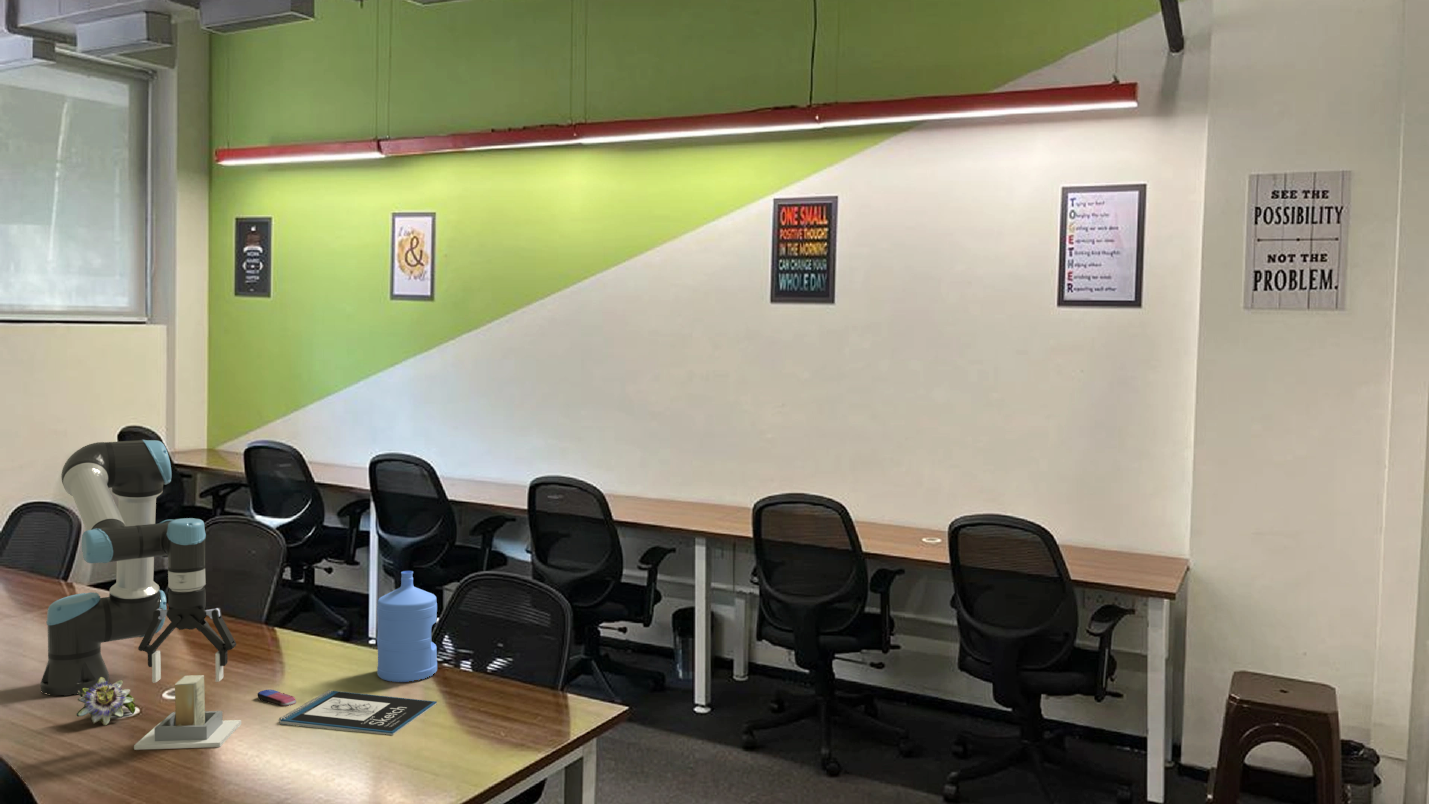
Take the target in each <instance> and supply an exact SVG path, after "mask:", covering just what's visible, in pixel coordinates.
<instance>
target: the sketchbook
mask: <svg viewBox="0 0 1429 804" xmlns="http://www.w3.org/2000/svg"><path fill="white" fill-rule="evenodd" d="M437 703H438V702H437V701H436V700H435V701H434V700H426V699H425V700H424V699H416V698H415V699H414V698H406V697H397V696H387V695H377V694H367V693H359V692H357V693H356V692H351V691H349V692H348V691H339V690H331V689H329V690H327V691H325V692H323V693H321V694H319V695H317V696H316V697H314V698H312V699H311V700H309V701H307V702H305V703H304V704H301V705H299V707H296V708H295V709H293V710H291V711H289V712H288V713H285V714H284V715H282V716H280V717H279V719H278V723H279V724H280V725H284V726H293V725H295V727H297V726H296V725H299V726H298V727H304V726H305V728H307V727H308V728H316V729H324V728H327V729H326V730H335V729H336V730H337V731H345V732H356V733H364V734H365V733H367V734H378V735H385V734H386V736H394V735H395V734H397V733H399V732H400V731H401V730H403V729H404V728H405V727H407V726H409V725H410V724H411V723H412V722H413V720H414V719H415V720H416V719H418V718H419V717H421V716H422V715H423V714H425V713H426V712H427V711H429V710H431V709H432V708H433V707H435V706H436V705H437ZM434 705H435V706H434ZM421 714H422V715H421ZM418 716H419V717H418ZM417 717H418V718H417ZM415 720H414V721H415ZM410 722H411V723H410ZM406 725H407V726H406Z"/></svg>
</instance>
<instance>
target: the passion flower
mask: <svg viewBox="0 0 1429 804" xmlns="http://www.w3.org/2000/svg"><path fill="white" fill-rule="evenodd" d="M107 682H108V681H105V679H104V678H102V677H100V678H99V680H98V682H97V683H96V684H95V685H93V687H90V688H89V689H88V688H83V689H82V693H81V692H80V691H78V694H77V695H78V696H80V697H79V698H77V701H78V702H81V703H82V704H84V706H82V708H80V710H78V711H77V713H76V716H77V717H83V716H85V715H87V714H89V715H90V719H91V722H92V723H93V725H94V724H96V723H98V722H101V724H102V725H103V726H107V725H108V724H109V723H110V721H111V717H112V716H113V715H114V716H116V717H119V718H122V717H123V716H124V711H123V707H125V708H127V709H128V711H130V713H131V714H132V715H134V714H135V712H136V704H135V698H134V697H133V696H132V695H131V694H130V693H131V689H129V688H125V689H123V687H122V685H123V680H122V679H120V680H117V681H115V682H114V683H111V682H109V683H108V684H107ZM86 691H87V692H86Z"/></svg>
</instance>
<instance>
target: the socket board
mask: <svg viewBox="0 0 1429 804" xmlns="http://www.w3.org/2000/svg"><path fill="white" fill-rule="evenodd" d="M241 725H242V719H236V720H235V719H231V720H230V719H229V720H228V719H226V720H223V710H210V711H209V710H208V711H207V710H205V724H204V725H187V726H176V715H175V711H173V712H171V713H170V714H169V715H168V716H167V717H165V718H164V719H163V720H162V721H160V722H159V723H158V724H157V725H155V726H154V727H153V728H152V729H151V730H150V731H149V732H148V733H146V734H145V735H144V736H143V737H142V738H140V739H139V740H138V741H137V742H136V743H135V744H134V745H133V749H134V751H135V750H136V751H139V750H165V749H170V750H171V749H198V748H199V749H200V748H201V749H202V748H203V749H204V748H221V747H222V745H223V744H224V743H225V742H226V741H227V740H228V739H230V737H231V736H232V735H233V734H234V733H235V732H236V731H237V730H238V728H239V727H241ZM233 732H234V733H233ZM231 734H232V735H231Z"/></svg>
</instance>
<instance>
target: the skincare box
mask: <svg viewBox="0 0 1429 804" xmlns="http://www.w3.org/2000/svg"><path fill="white" fill-rule="evenodd" d="M205 699H206V698H205V675H204V674H203V675H202V674H201V675H199V674H198V675H184V676H183V677H181V678H180V679H179V680H178V681H177V682H175V684H174V701H175V704H174V705H175V709H174V712H175V715H176V726H187V725H204V724H205V711H206V705H205V704H206V703H205Z"/></svg>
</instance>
